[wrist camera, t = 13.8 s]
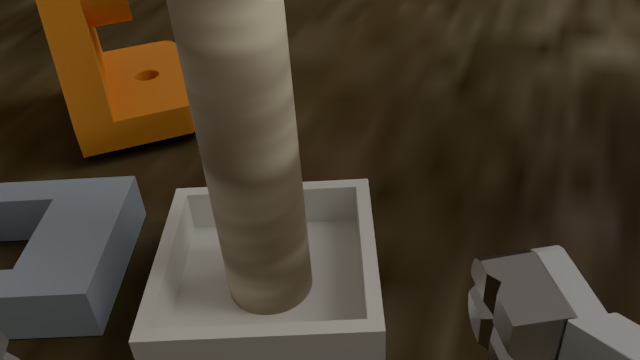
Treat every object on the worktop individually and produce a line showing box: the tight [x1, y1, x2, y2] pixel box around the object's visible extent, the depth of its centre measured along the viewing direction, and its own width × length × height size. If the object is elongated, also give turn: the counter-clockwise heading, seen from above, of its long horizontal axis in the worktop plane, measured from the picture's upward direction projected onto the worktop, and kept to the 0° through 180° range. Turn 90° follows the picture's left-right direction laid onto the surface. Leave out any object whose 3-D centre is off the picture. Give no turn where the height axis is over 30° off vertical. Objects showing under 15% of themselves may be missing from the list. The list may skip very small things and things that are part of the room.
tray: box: [128, 179, 386, 360], centre depth 26 cm, size 9×9×3 cm
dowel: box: [166, 0, 312, 315], centre depth 22 cm, size 4×4×14 cm
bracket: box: [36, 0, 195, 158], centre depth 37 cm, size 11×7×12 cm, turn 20°
